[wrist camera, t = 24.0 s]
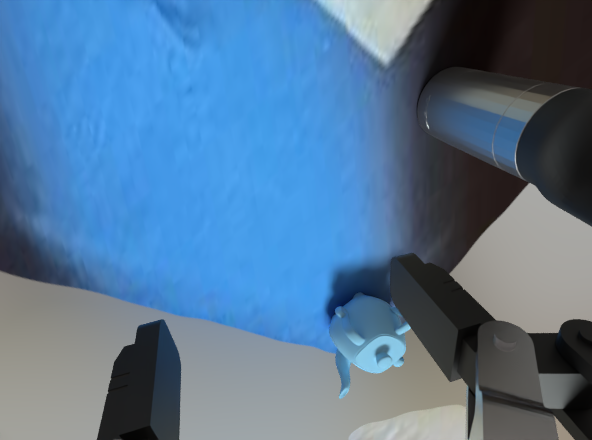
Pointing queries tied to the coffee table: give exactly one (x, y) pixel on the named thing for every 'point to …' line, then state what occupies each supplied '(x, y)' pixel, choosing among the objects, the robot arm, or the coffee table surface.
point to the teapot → (367, 337)
